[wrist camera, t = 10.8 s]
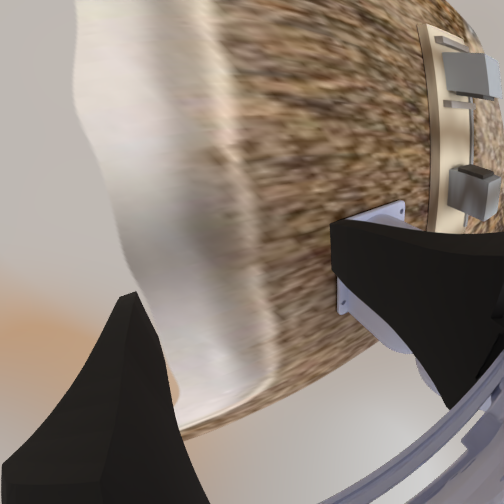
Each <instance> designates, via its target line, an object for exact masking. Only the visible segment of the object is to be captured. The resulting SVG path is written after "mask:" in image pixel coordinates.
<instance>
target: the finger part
mask: <svg viewBox="0 0 504 504" xmlns="http://www.w3.org/2000/svg"><path fill="white" fill-rule="evenodd" d="M442 56H443V62H444V69H445V77H446V86H447V90H449V91H456V95H459V96H466V97H473V98H479V99H485V100H491V101H494V97H495V98H500V99H502V89H501V79H500V71H499V64H498V61H497V60H495V59H493V58H492V57H490V56H488V55H486V54H483V53H463V52H442Z"/></svg>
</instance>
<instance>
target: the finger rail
mask: <svg viewBox="0 0 504 504" xmlns="http://www.w3.org/2000/svg"><path fill="white" fill-rule="evenodd" d="M417 28H418V33H419V38H420V43H421V48H422V54H423V60H424V66H425V74H426V81H427V90H428V101H429V114H430V135H431V178H430V199H429V212H428V223H427V232H438V233H450V234H462V233H464V232H465V228H466V226H467V222H468V215H470V216H473V217H475V218H477V219H479V220H481V221H483V222H484V221H485V220H487V219H488V218H490V217H491V216H493V215H494V214H495V213H497V209H498V202H499V194H500V186H501V177H499V176H497V175H494V172H493V171H490V170H487V169H484V168H481V167H478V166H475V165H473V156H474V120H473V110H476V106H475V103H473V101H472V97H466V96H459V95H456V91H449V90H447V86H446V77H445V69H444V62H443V56H442V52H463V53H469V47H467V46H465V45H464V41H463V39H461V38H459V37H457V36H455V35H453V34H450V33H448V32H446V31H443V30H441V29H439V28H436V27H434V26H431V25H429V24H418V25H417Z"/></svg>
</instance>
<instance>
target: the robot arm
mask: <svg viewBox="0 0 504 504" xmlns="http://www.w3.org/2000/svg"><path fill="white" fill-rule="evenodd" d="M404 215H405V203H404V201H402V200H398V201H395V202H392V203H390V204H387V205H384V206H381V207H378V208H375V209H372V210H369V211H367V212H364V213H361V214H358V215H355V216H352V217H349V218H347V219H342V220H339V221H336V222H333V223H330V238H331V264H332V271H333V272H334V273H335V274H336V276H337V312H338V313H339V314H340V315H343V314H345V313H347V312H349V313H350V314H351V315H352V316H353V317H354V318H356V319H357V320H358V321H359V322H360V323H361V324H362V325H363V326H364V327H365V328H366V329H367V330H369V331H370V332H371V333H372V334H373V335H374V336H375V337H376V338H377V339H378V340H379V341H380V342H381V343H383V344H384V345H385V346H386V347H388V348H389V349H391V350H394V351H396V352H399V353H404V354H414V355H415V357H416V365H417V368H418V370H419V373H420V376H421V377H422V379H423V380H424V382H425V383H426V384H427V385H428V386H429V387H430V388H431V389H432V390H433V391H434V392H435V393H437V394H438V395H439V396H441V397H442V399H443V401H444V403H445V405H446V407H447V408H448V409H449V410H450V411H449V412H448V413H447V414H446V415H445V416H444V417H442V418H441V419H440V420H439V421H438V422H437V423H436V424H435V425H434V426H433V427H431V428H430V429H429V430H428V431H427V432H426V433H425V434H423V435H422V436H421V437H420V438H419V439H417V440H416V441H415V442H414V443H412V444H411V445H410V446H409V447H408V448H406V449H405V450H403V451H402V452H401V453H400V454H398V455H397V456H396V457H394V458H393V459H391V460H390V461H389V462H387V463H386V464H384V465H383V466H381V467H380V468H378V469H377V470H376V471H374V472H372V473H371V474H369V475H368V476H366V477H365V478H363V479H362V480H360V481H358V482H356V483H355V484H353V485H351V486H350V487H348V488H346V489H345V490H343V491H341V492H339V493H337V494H336V495H334V496H332V497H330V498H328V499H326V500H324V501H322V502H320V503H318V504H369V503H370V502H372V501H373V500H375V499H377V498H378V497H380V496H381V495H383V494H384V493H386V492H387V491H389V490H390V489H391V488H393V487H394V486H395V485H397V484H398V483H400V482H401V481H402V480H404V479H405V478H406V477H408V476H409V475H410V474H411V473H413V472H414V471H415V470H416V469H418V468H419V467H420V466H421V465H422V464H424V463H425V462H426V461H427V460H429V459H430V458H431V457H432V456H433V455H434V454H435V453H436V452H438V451H439V450H440V449H441V448H442V447H443V446H444V445H445V444H446V443H447V442H448V441H449V440H450V439H451V438H452V437H453V436H454V435H455V434H456V433H457V432H458V431H459V430H460V429H461V428H462V427H463V426H464V425H465V424H466V423H467V422H468V421H469V420H470V419H471V418H472V417H473V415H474V414H475V413H476V412H477V411H478V410H483V411H485V413H484V415H483V416H482V417H481V418H480V419H479V421H478V422H477V423H476V424H475V425H474V426H473V427H472V428H471V429H470V430H469V432H468V433H467V434H466V435H465V436H464V437H463V438H462V439H461V442H462V443H463V445H465V446H466V448H467V450H466V451H465V452H464V453H463V454H462V455H461V456H460V457H459V458H458V459H457V460H456V461H455V462H454V463H453V464H452V465H451V466H450V467H449V468H448V469H447V470H445V471H444V472H443V473H442V474H441V475H440V476H439V477H438V478H436V479H435V480H434V481H433V482H432V483H430V484H429V485H428V486H427V487H426V488H424V489H423V490H422V491H421V492H419V493H418V494H417V495H415V496H414V497H413V498H412V499H410V500H409V501H407V502H406V503H405V504H504V232H497V233H485V234H450V233H438V232H427V231H422V230H420V229H418V228H416V227H414V226H412V225H410V224H408V223H406V222H404ZM342 301H343V302H342ZM1 479H2V480H1V496H2V497H1V498H2V504H210V502H209V500H208V498H207V497H206V494H205V492H204V490H203V488H202V486H201V484H200V482H199V480H198V477H197V475H196V473H195V471H194V468H193V466H192V463H191V461H190V458H189V456H188V453H187V451H186V448H185V446H184V443H183V440H182V437H181V434H180V431H179V428H178V425H177V421H176V417H175V413H174V408H173V404H172V398H171V393H170V387H169V381H168V376H167V369H166V364H165V359H164V355H163V352H162V348H161V345H160V341H159V337H158V335H157V333H156V331H155V329H154V327H153V325H152V323H151V321H150V319H149V317H148V315H147V313H146V311H145V309H144V307H143V305H142V303H141V301H140V299H139V296H138V294H137V292H133V293H130V294H127V295H124V296H121V297H119V299H118V301H117V303H116V305H115V307H114V309H113V311H112V313H111V315H110V317H109V319H108V321H107V323H106V325H105V327H104V329H103V331H102V333H101V335H100V337H99V339H98V341H97V343H96V344H95V346H94V348H93V350H92V352H91V354H90V356H89V357H88V359H87V361H86V363H85V365H84V366H83V368H82V370H81V371H80V373H79V374H78V376H77V378H76V379H75V381H74V382H73V384H72V385H71V387H70V388H69V390H68V391H67V392H66V394H65V395H64V396H63V398H62V399H61V401H60V402H59V403H58V404H57V406H56V407H55V409H54V410H53V411H52V413H51V414H50V415H49V416H48V417H47V419H46V420H45V421H44V422H43V423H42V425H41V426H40V427H39V428H38V429H37V430H36V431H35V432H34V434H33V435H32V436H31V437H30V438H29V439H28V440H27V441H26V442H25V443H24V444H23V445H22V446H21V447H20V448H19V449H18V450H17V451H16V452H15V453H14V454H13V455H12V456H11V457H9V458H8V459H7V460H6V461H5V462H4V463H3V464H2V477H1Z"/></svg>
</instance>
